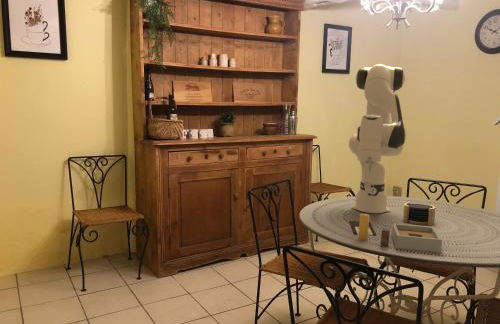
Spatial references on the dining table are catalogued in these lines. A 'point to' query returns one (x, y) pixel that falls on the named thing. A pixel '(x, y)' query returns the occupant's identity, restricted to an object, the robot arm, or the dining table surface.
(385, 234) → the short dark dowel
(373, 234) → the chocolate bar
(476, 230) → the dining table surface
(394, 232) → the square frame
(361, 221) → the dowel
